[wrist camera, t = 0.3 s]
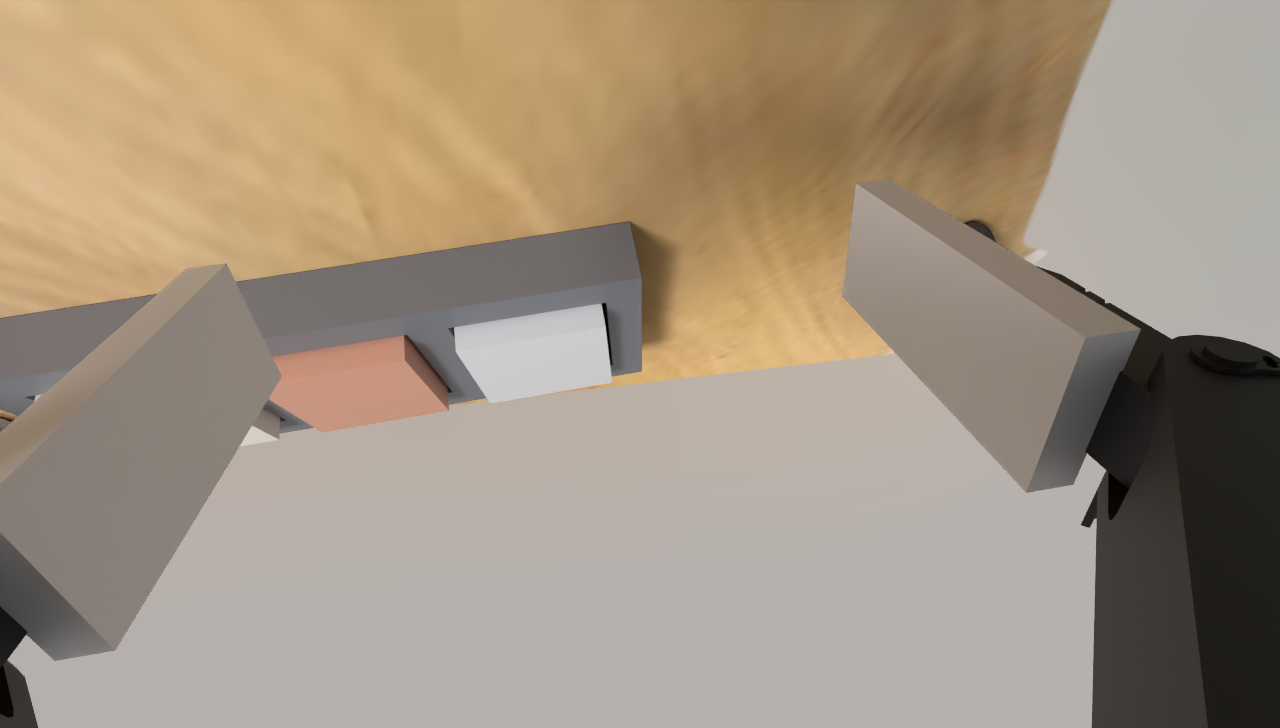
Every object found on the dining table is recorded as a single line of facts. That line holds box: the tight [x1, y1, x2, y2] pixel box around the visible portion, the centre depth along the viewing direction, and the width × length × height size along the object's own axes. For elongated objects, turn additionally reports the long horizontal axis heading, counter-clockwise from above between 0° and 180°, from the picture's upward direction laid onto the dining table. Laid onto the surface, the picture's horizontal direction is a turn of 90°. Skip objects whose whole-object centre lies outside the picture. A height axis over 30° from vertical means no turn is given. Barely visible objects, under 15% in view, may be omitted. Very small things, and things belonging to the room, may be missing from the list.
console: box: [0, 222, 642, 433], centre depth 41 cm, size 14×38×4 cm, turn 91°
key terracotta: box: [269, 335, 449, 432], centre depth 40 cm, size 9×9×3 cm
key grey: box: [454, 303, 612, 403], centre depth 41 cm, size 9×9×3 cm
